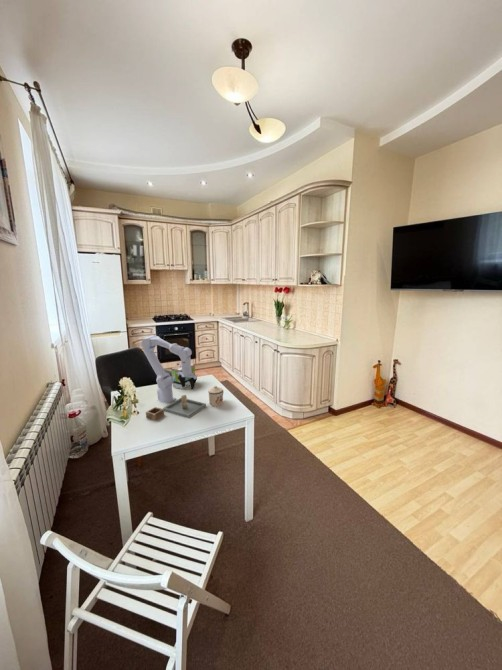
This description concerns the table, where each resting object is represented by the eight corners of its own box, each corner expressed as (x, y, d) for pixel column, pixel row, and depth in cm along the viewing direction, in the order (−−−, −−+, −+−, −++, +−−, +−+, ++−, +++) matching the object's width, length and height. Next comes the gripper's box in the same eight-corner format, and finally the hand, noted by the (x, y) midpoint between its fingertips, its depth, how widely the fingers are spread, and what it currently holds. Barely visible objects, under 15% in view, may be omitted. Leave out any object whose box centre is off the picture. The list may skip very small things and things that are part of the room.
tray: (163, 411, 162) (163, 408, 162) (181, 400, 176) (181, 397, 175) (188, 418, 153) (188, 415, 152) (206, 406, 166) (205, 403, 166)
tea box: (182, 389, 193) (180, 370, 190) (172, 387, 198) (170, 368, 195) (196, 382, 206) (194, 363, 203) (186, 380, 211) (184, 362, 207)
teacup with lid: (217, 407, 164) (216, 390, 162) (206, 404, 169) (204, 387, 167) (229, 400, 174) (228, 383, 172) (218, 397, 179) (217, 380, 176)
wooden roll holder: (146, 418, 154) (145, 412, 154) (156, 413, 160) (155, 406, 160) (155, 421, 151) (154, 414, 150) (164, 415, 157) (163, 409, 156)
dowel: (181, 408, 163) (180, 396, 162) (184, 406, 166) (183, 394, 164) (185, 409, 162) (183, 397, 160) (188, 407, 165) (187, 395, 163)
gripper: (173, 367, 167) (175, 387, 170) (190, 371, 160) (192, 392, 163) (181, 364, 173) (183, 383, 176) (198, 367, 166) (200, 388, 169)
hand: (188, 387), depth 170 cm, fingers open, 7 cm apart
